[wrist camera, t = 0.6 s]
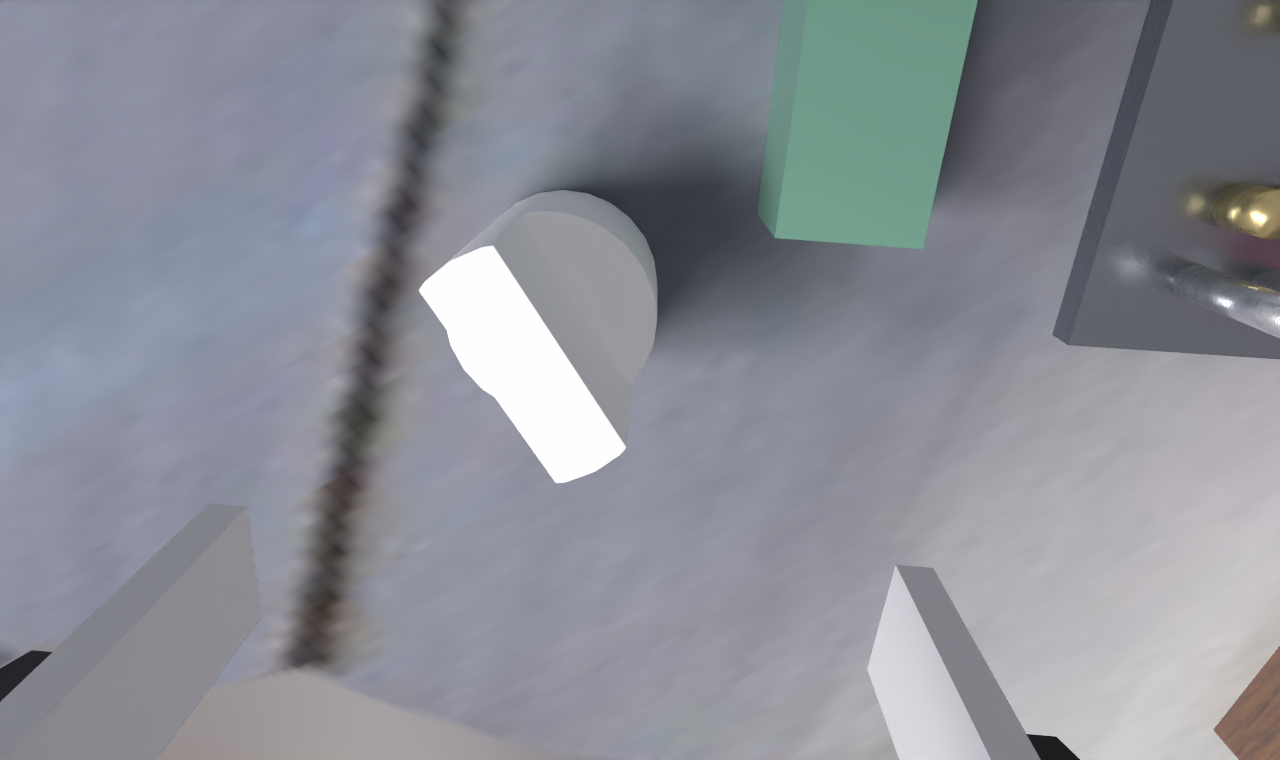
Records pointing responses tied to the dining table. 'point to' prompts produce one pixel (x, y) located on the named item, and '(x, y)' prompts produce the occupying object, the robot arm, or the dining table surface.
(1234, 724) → the tissue box cover
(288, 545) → the dining table surface
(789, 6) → the mint green rectangular block
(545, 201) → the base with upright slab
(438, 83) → the dining table surface
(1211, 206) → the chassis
